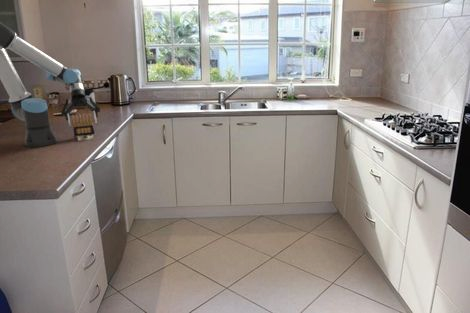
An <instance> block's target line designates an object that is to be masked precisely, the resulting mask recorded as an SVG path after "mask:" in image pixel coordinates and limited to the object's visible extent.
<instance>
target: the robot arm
mask: <svg viewBox="0 0 470 313" xmlns="http://www.w3.org/2000/svg"><path fill="white" fill-rule="evenodd" d="M7 50H10V51H12V52H13V53H15V54H17V55H19V56H20V57H22V58H23V59H25V60H27V61H28V62H30V63H31V64H33V65H34V66H37V67H38V68H40V69H42V70H44V71H45V76H46V79H47V80H49V81H52V82H57V83H60V84H64V85H68V86H69V92H70V96H71V97H70V98H71V100H70V99H68V98H67V99H65V104H64V105H63V108H62V109H61V113H60V114H61V116H65V120H66V121H68V127H71V126H72V125H71V120H70V119H71V118H70V113H72V111H73V110H75V109H76V108H83V107H84V108H86V107H87V108H88V109H89V111H91V112H93V118H94V123H95V124H97V122H98V121H97V120H98V119H97V118H98V116H99V114H98V113H100V112H101V108H100V107H99V105H97V104H95V103H96V101H95V102H94V101H93V100H92V98H91V97H90V98H89V99H86V97H85V92H84V89H85V88H84V82H83V75H82V73H81V71H80V70H79V69H78V68H69V67H67V66H66V65H63V64H62V63H61V62H59V61H57V60H56V59H55V58H53V57H51V56H50V55H48V54H47V53H45V52H43V51H42V50H41V49H38V48H37V47H35V46H34V45H32V44H31V43H29V42H27V41H26V40H25V39H23V38H22V37H19V36H18V35H17V32H16V31H14V30H12V29H11V28H10V27H8V26H7V25H5V24H3V22H1V21H0V82H1V84H2V85H3V86H4V89H5V90H6V92H7V95H8V96H9V99H8V103H9V105H10V108H11V113H12V115H13V116H14V117H15V118H16V119H18V120H19V121H22V122H24V123H25V124H24V125H25V129H26V130H25V131H26V132H25V139H24V144H25V146H26V147H27V148H40V147H46V146H51V145H53V144H56V143H57V142H58V140H57V136H56V135H55V132H54V131H53V129H52V126H51V120H50V113H49V109H48V108H49V107H48V104H47V101H46V99H43V98H41V97H39V98H37V97H34V96H33V94H32V93H31V92H29V91H27V89H26V87H25V85H24V84H23V82H22V80H21V78H20V76H19V74H18V71H17V70H16V68H15V66H14V64H13V62H12V60H11V57H10V56H9V54H8V51H7ZM87 101H88V102H89V103H91V105H92V106H93V107H92V106H91V105H89V104H88V103H87ZM70 104H71V105H70ZM69 105H70V106H69Z"/></svg>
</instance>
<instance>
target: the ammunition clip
mask: <svg viewBox="0 0 470 313" xmlns="http://www.w3.org/2000/svg"><path fill="white" fill-rule="evenodd" d="M93 122H94V121H93V118H92V114H91V113H90V112H89V113H87V112H86V113H82V115H81V114H80V113H79V114H75V115H74V114H71V123H72V128H73V129H72V130H73V135H74V137H77V136H81V135H90V134H92V135H95V128H94V123H93Z"/></svg>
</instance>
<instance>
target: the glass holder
mask: <svg viewBox="0 0 470 313" xmlns="http://www.w3.org/2000/svg"><path fill="white" fill-rule="evenodd" d="M84 92H85V97H86V99H89V98H90V97H91V98H92V100H93V101H94V102H95V104H96V103H97V102H96V96H95V92H94V88H84ZM87 103H88V104H89V105H91V103H89V102H88V101H87ZM96 105H97V104H96ZM91 106H92V105H91ZM92 107H93V106H92Z"/></svg>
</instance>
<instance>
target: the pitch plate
mask: <svg viewBox="0 0 470 313" xmlns="http://www.w3.org/2000/svg"><path fill="white" fill-rule="evenodd" d="M76 137H77V142H85V141H92V140H95V138H94V134H90V135H81V136H76Z"/></svg>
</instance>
